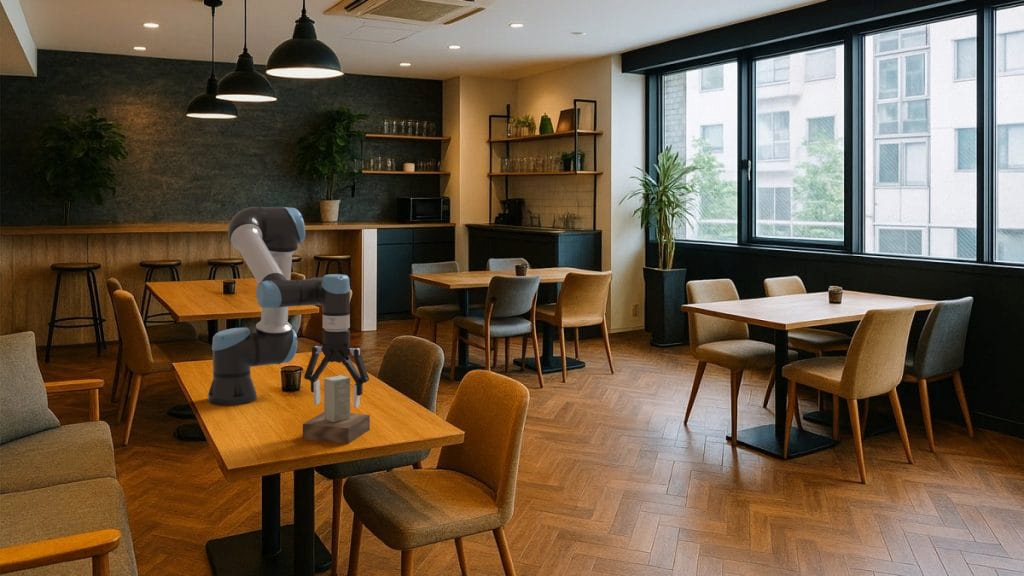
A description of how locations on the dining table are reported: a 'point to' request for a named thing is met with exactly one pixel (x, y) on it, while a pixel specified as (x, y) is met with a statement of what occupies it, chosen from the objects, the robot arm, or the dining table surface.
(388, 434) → the dining table surface
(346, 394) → the skincare box
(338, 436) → the plate
